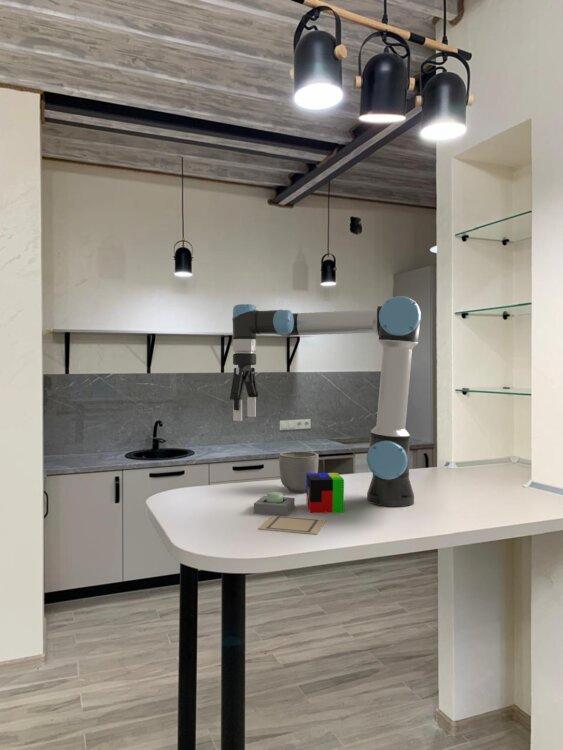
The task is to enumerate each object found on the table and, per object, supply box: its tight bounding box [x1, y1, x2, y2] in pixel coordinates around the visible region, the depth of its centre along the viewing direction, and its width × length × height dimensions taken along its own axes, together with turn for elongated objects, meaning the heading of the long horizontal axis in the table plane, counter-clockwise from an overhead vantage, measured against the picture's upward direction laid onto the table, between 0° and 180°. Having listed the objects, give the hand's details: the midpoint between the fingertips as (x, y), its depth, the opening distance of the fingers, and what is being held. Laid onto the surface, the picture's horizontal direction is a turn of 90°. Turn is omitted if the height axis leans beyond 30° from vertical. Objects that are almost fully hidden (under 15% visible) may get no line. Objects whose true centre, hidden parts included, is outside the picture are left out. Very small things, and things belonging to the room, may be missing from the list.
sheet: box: [257, 515, 327, 535], centre depth 151 cm, size 16×13×1 cm
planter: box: [278, 450, 320, 494], centre depth 192 cm, size 14×14×13 cm
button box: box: [253, 495, 296, 517], centre depth 166 cm, size 10×10×3 cm
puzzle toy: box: [305, 472, 345, 514], centre depth 169 cm, size 10×10×10 cm
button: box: [265, 491, 284, 504], centre depth 166 cm, size 5×5×4 cm
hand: (244, 418), depth 177 cm, fingers open, 13 cm apart
